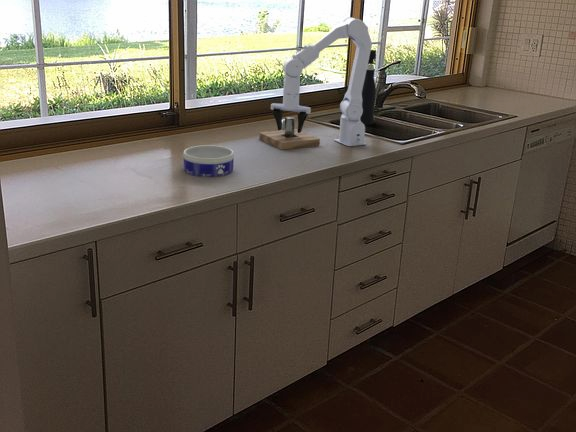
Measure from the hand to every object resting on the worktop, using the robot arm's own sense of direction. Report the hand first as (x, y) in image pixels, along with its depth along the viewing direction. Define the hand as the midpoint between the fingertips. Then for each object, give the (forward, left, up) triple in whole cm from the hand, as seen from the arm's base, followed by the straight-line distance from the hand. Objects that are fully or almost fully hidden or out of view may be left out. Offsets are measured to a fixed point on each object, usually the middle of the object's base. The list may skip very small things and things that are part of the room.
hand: (289, 131), depth 231 cm
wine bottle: (+16, -47, -4) cm, 50 cm away
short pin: (+14, -7, -4) cm, 16 cm away
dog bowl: (-20, +41, -5) cm, 46 cm away
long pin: (0, 0, -4) cm, 4 cm away
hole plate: (0, 0, -4) cm, 4 cm away
